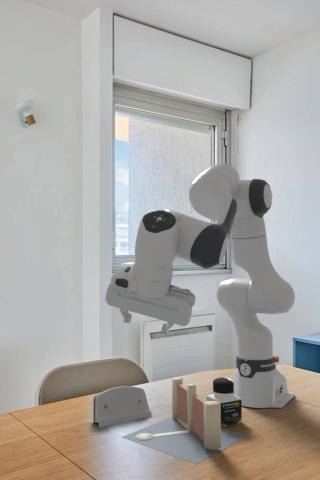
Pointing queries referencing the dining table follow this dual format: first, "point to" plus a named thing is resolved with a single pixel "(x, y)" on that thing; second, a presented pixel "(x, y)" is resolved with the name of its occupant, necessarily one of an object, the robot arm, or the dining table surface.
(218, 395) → the medicine bottle
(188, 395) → the fixed fence
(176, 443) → the board
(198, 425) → the swing panel
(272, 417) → the dining table surface
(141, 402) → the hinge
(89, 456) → the dining table surface
